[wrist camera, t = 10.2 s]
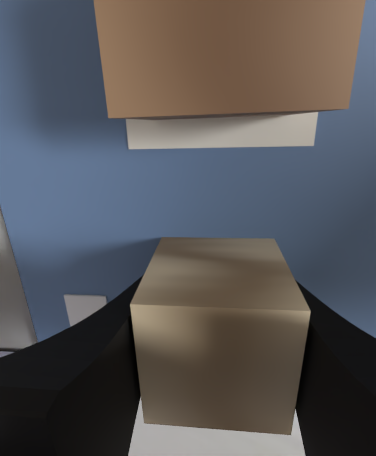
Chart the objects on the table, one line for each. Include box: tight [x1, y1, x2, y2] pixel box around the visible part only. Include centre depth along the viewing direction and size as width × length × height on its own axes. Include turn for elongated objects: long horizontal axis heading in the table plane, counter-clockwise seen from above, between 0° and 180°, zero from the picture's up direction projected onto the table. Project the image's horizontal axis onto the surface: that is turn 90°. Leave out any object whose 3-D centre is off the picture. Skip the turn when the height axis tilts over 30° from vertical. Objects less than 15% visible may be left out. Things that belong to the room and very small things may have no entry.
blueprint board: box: [0, 0, 376, 342], centre depth 11 cm, size 24×20×1 cm
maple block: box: [130, 237, 311, 435], centre depth 10 cm, size 4×4×4 cm
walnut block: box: [94, 0, 366, 120], centre depth 7 cm, size 4×4×4 cm
